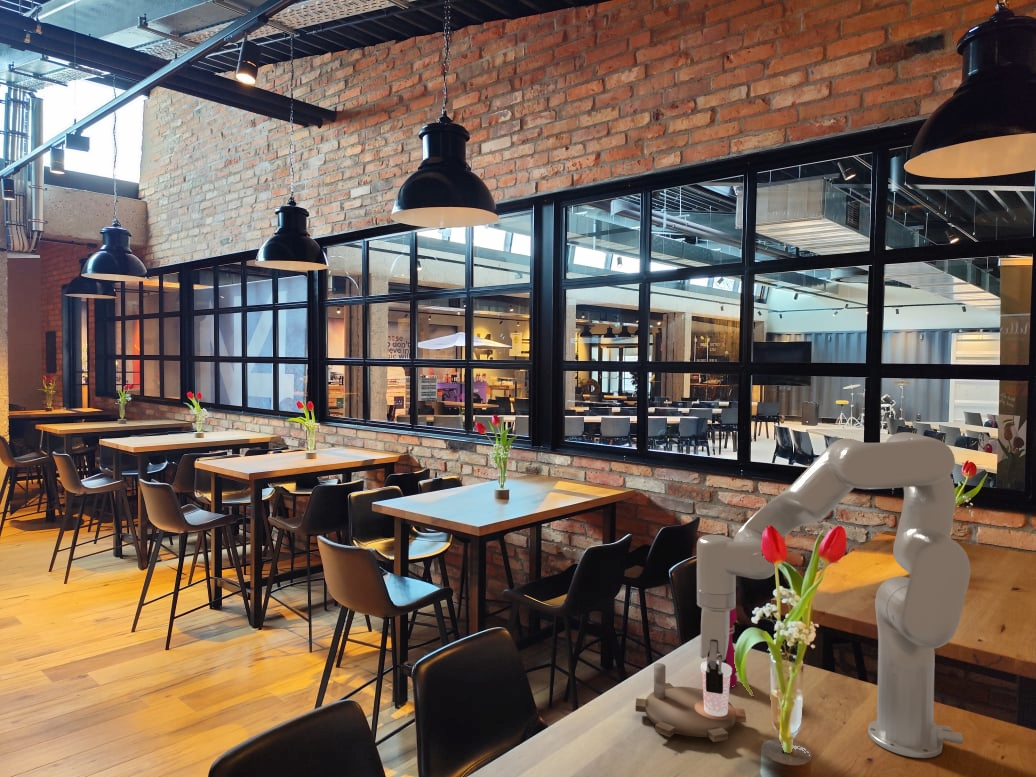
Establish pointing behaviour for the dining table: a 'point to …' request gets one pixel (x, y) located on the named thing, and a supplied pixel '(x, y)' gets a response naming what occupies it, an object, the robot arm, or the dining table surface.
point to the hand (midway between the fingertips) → (716, 681)
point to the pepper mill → (731, 648)
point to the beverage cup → (714, 701)
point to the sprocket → (685, 711)
